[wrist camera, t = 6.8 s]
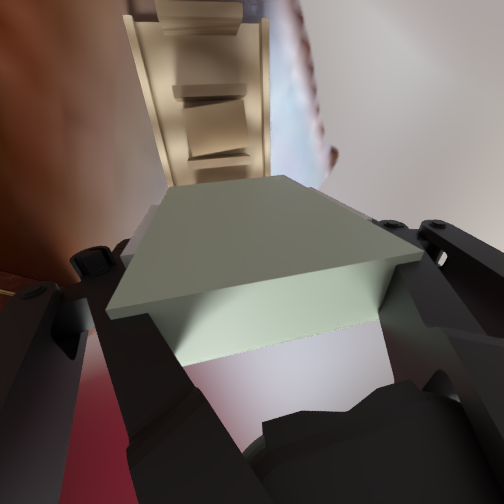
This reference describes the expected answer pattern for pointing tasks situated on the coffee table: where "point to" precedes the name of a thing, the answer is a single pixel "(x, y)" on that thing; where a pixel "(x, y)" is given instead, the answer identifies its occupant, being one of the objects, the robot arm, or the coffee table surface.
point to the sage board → (255, 267)
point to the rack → (204, 84)
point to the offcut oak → (216, 127)
